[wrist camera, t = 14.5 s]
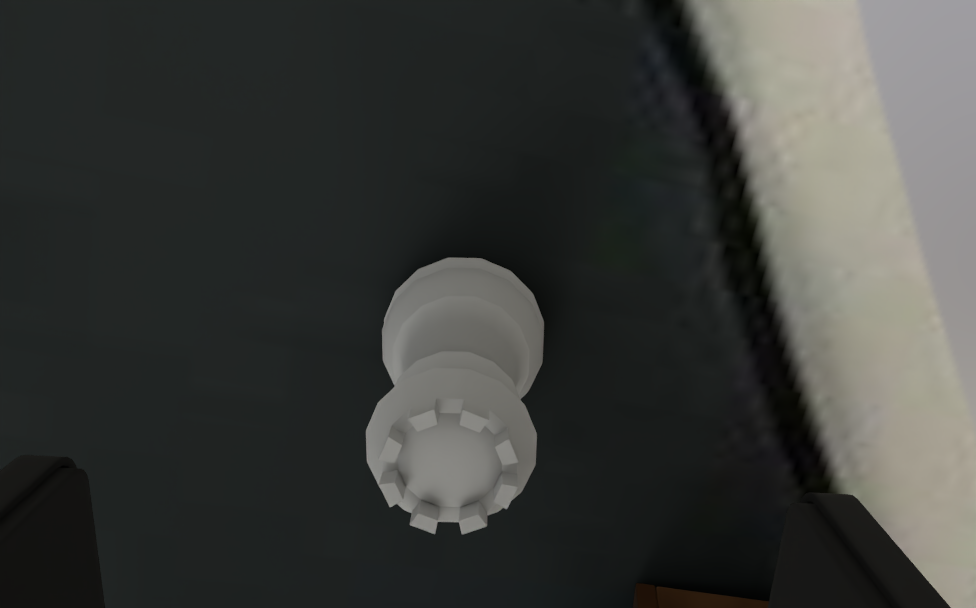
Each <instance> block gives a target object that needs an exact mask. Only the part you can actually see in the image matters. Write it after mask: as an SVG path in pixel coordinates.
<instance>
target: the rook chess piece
mask: <svg viewBox="0 0 976 608" xmlns="http://www.w3.org/2000/svg"><path fill="white" fill-rule="evenodd" d="M543 339H544V320H543V318H542V315H541V313H540V310H539V308H538V305H537V302H536V300H535V297H534V295H533V293H532V292H531V291H530V290H529V289H528V288H527V287H526V286H525V285H524V284H523V283H522V282H521V281H520V280H519V279H518V278H517V277H516V276H515V275H514V274H513V273H512V272H511V271H510V270H508V269H505V268H503V267H501V266H498V265H496V264H494V263H491V262H489V261H486V260H484V259H482V258H446V259H443V260H441V261H438V262H436V263H433V264H430V265H428V266H425V267H423V268H420V269H418V270H417V271H416V272H415V273H414V274H413V275H412V276H411V277H410V278H409V279H408V280H406V281H405V282H404V283H403V284H402V285H401V286H400V287H399V288H398V289H397V290H396V291H395V294H394V296H393V299H392V301H391V303H390V306H389V308H388V311H387V313H386V316H385V318H384V326H383V328H382V350H383V362H384V364H385V366H386V369H387V371H388V373H389V375H390V377H391V379H392V382H393V384H394V386H395V387H394V388H393V389H392V390H391V391H390V392H389V393H388V394H386V395H385V396H384V397H383V398H382V399H381V400H380V401H379V402H378V404H377V406H376V408H375V411H374V413H373V415H372V418H371V420H370V422H369V425H368V427H367V430H366V449H367V463H368V465H369V467H370V469H371V471H372V473H373V475H374V477H375V479H376V481H377V483H378V485H379V487H380V489H381V490H382V492H383V494H384V496H385V499H386V501H387V503H388V505H389V507H392V506H394V505H395V504H398V505H399V506H400V507H401V508H402V509H403V510H405V511H408V512H410V513H412V515H411V520H410V525H411V526H414V527H417V528H419V529H422V530H425V531H427V532H430V533H433V534H435V531H436V527H437V522H459V524H460V529H461V533H462V535H463V534H466V533H469V532H472V531H475V530H477V529H480V528H483V527H486V526H487V516H488V515H490V514H493V513H496V512H498V511H500V510H501V509H502V508H505V509H507V508H508V506H509V504H510V502H511V501H512V500H513V499H514V498H515V497H516V496H517V495H519V494H520V493H521V492H522V491H523V489H524V487H525V485H526V483H527V481H528V479H529V477H530V475H531V473H532V471H533V469H534V467H535V465H536V444H537V433H536V431H535V428H534V426H533V423H532V421H531V419H530V416H529V414H528V411H527V409H526V406H525V405H524V404H523V403H522V402H521V400H520V399H521V398H522V397H523V396H524V395H526V394H527V392H528V391H529V390H530V387H531V385H532V383H533V381H534V379H535V377H536V375H537V373H538V371H539V369H540V367H541V365H542V363H543Z"/></svg>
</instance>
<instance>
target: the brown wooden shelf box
mask: <svg viewBox="0 0 976 608" xmlns="http://www.w3.org/2000/svg"><path fill="white" fill-rule="evenodd" d="M768 604H769V601H762V600H754V599H747V598H740V597H732V596H725V595H718V594H710V593H703V592H695V591H688V590H681V589H673V588H666V587H656V588H655V586H654V585H648V584H641V583H636V586H635V594H634V602H633V608H768Z"/></svg>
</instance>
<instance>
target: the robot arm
mask: <svg viewBox="0 0 976 608" xmlns="http://www.w3.org/2000/svg"><path fill="white" fill-rule="evenodd" d="M0 608H105V604H104V596H103V588H102V581H101V573H100V565H99V557H98V550H97V542H96V534H95V526H94V519H93V511H92V503H91V496H90V488H89V480H88V476H87V474H86V472H85V471H84V470H82V469H77V468H76V465H75V463H74V462H73V460H72V459H70V458H68V457H55V456H34V455H23V456H20V457H18V458H16V459H14V460H13V461H12V462H11V463H9V464H8V465H7V466H6V467H4V468H3V469H2V470H1V471H0ZM768 608H950V606H949V605H948V604H947V603H946V602H945V601H944V599H943V598H942V597H941V596H940V595H939V594H938V592H937V591H936V590H935V589H934V588H933V587H932V585H931V584H930V583H929V582H928V581H927V580H926V578H925V577H924V576H923V575H922V574H921V573H920V571H919V570H918V569H917V568H916V567H915V566H914V564H913V563H912V562H911V561H910V560H909V559H908V557H907V556H906V555H905V554H904V553H903V552H902V550H901V549H900V548H899V547H898V546H897V545H896V543H895V542H894V541H893V540H892V539H891V538H890V536H889V535H888V534H887V533H886V532H885V531H884V529H883V528H882V527H881V526H880V525H879V524H878V522H877V521H876V520H875V519H874V518H873V517H872V515H871V514H870V513H869V512H868V511H867V510H866V508H865V507H864V506H863V505H862V504H861V503H860V501H859V500H858V499H857V498H855V497H854V496H853V495H848V494H828V493H807V494H805V495H804V496H803V497H802V499H801V501H800V503H792V504H791V505H790V506H789V508H788V511H787V514H786V519H785V524H784V529H783V534H782V539H781V544H780V549H779V554H778V559H777V564H776V569H775V574H774V579H773V584H772V589H771V594H770V599H769V604H768Z"/></svg>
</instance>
